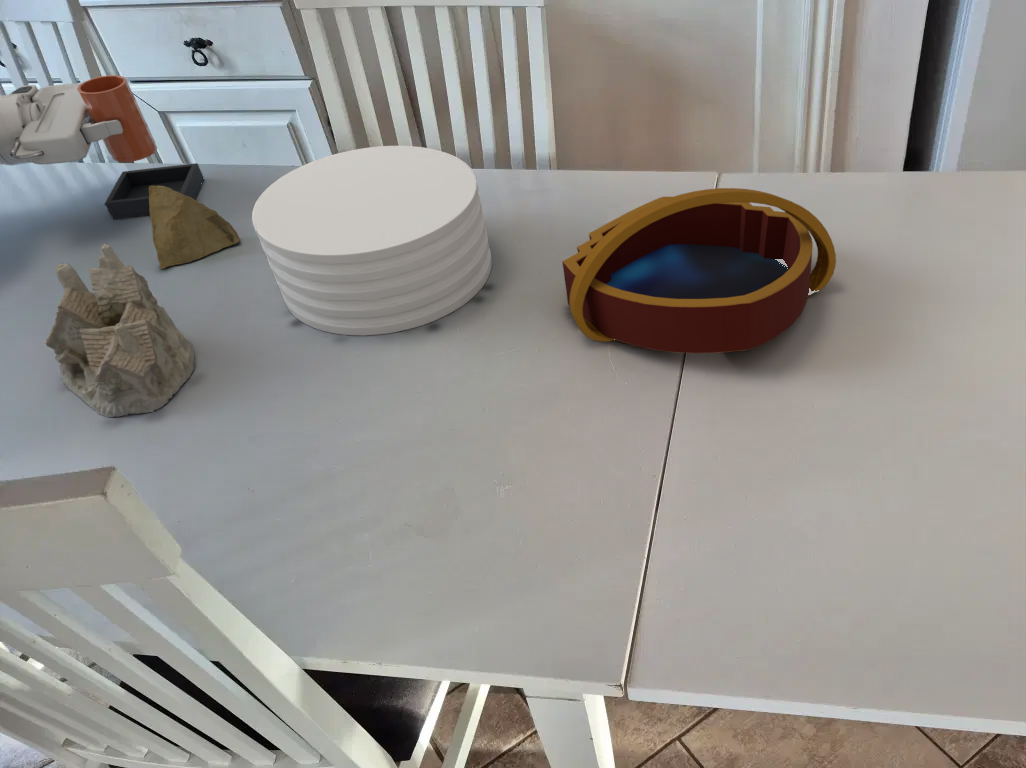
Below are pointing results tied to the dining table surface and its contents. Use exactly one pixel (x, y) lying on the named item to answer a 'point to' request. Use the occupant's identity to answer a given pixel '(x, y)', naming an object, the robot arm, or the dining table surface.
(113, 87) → the cup
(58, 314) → the ceramic cottage
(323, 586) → the dining table surface
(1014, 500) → the dining table surface
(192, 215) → the rock
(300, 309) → the plate stack
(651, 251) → the decorative basket
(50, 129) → the robot arm
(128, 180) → the tray
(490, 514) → the dining table surface
